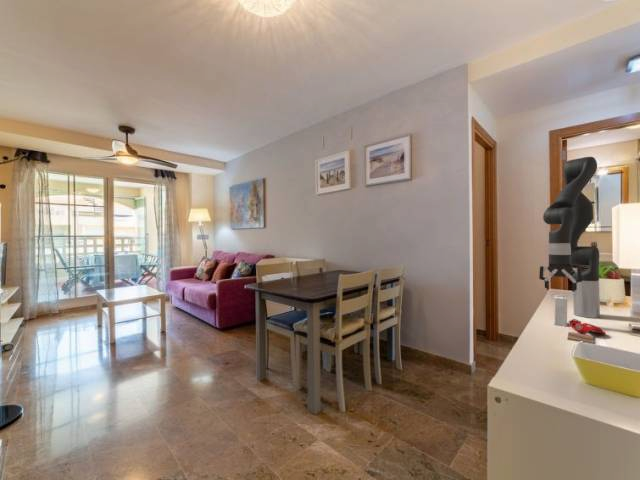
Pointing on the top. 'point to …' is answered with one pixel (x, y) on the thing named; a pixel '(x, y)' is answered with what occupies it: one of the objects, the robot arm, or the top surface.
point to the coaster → (580, 337)
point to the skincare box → (560, 310)
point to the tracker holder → (585, 327)
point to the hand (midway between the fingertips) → (560, 290)
